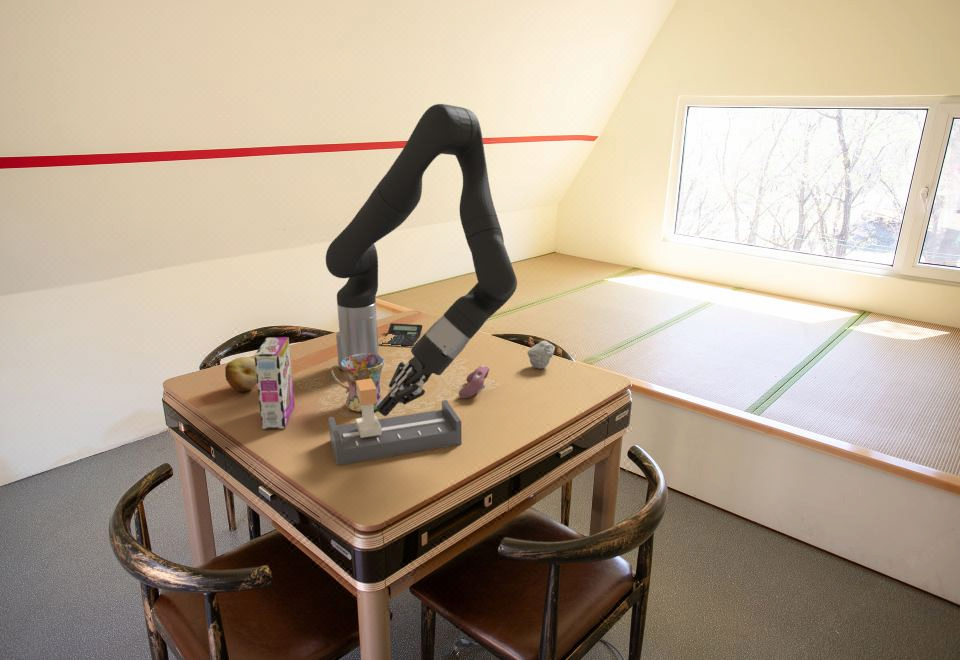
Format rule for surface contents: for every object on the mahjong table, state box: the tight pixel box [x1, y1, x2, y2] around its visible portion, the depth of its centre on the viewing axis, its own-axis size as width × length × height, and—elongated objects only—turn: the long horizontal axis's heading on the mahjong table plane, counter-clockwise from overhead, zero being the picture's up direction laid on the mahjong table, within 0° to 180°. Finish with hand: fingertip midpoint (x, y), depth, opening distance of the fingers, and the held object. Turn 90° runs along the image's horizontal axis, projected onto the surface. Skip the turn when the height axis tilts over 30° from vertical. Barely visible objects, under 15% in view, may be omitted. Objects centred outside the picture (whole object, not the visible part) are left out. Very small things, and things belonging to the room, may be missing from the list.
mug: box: [330, 354, 386, 413], centre depth 143 cm, size 12×9×11 cm
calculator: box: [382, 322, 423, 346], centre depth 185 cm, size 9×12×3 cm
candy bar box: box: [253, 336, 296, 430], centre depth 136 cm, size 11×5×16 cm, turn 5°
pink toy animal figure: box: [458, 364, 491, 399], centre depth 151 cm, size 10×5×7 cm, turn 169°
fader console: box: [328, 399, 463, 466], centre depth 128 cm, size 24×10×5 cm, turn 109°
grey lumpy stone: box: [527, 340, 556, 370], centre depth 164 cm, size 6×7×7 cm
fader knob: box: [355, 379, 382, 438], centre depth 124 cm, size 4×5×10 cm
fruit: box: [224, 356, 257, 392], centre depth 151 cm, size 8×8×8 cm
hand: (380, 412), depth 126 cm, fingers closed
